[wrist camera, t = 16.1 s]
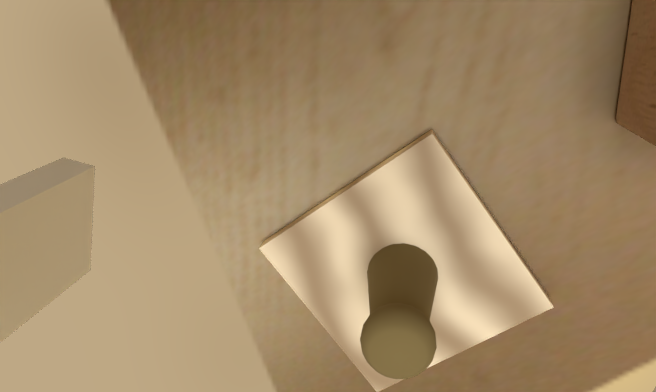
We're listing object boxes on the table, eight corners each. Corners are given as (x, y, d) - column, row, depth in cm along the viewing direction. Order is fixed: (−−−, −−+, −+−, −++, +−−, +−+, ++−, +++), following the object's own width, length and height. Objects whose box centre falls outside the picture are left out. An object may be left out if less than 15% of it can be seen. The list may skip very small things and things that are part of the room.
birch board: (431, 129, 40) (432, 133, 39) (549, 297, 44) (553, 307, 42) (263, 241, 46) (259, 248, 45) (378, 381, 50) (377, 392, 48)
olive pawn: (357, 290, 45) (339, 374, 35) (381, 233, 42) (369, 304, 32) (422, 315, 45) (423, 406, 34) (449, 258, 42) (459, 338, 32)
